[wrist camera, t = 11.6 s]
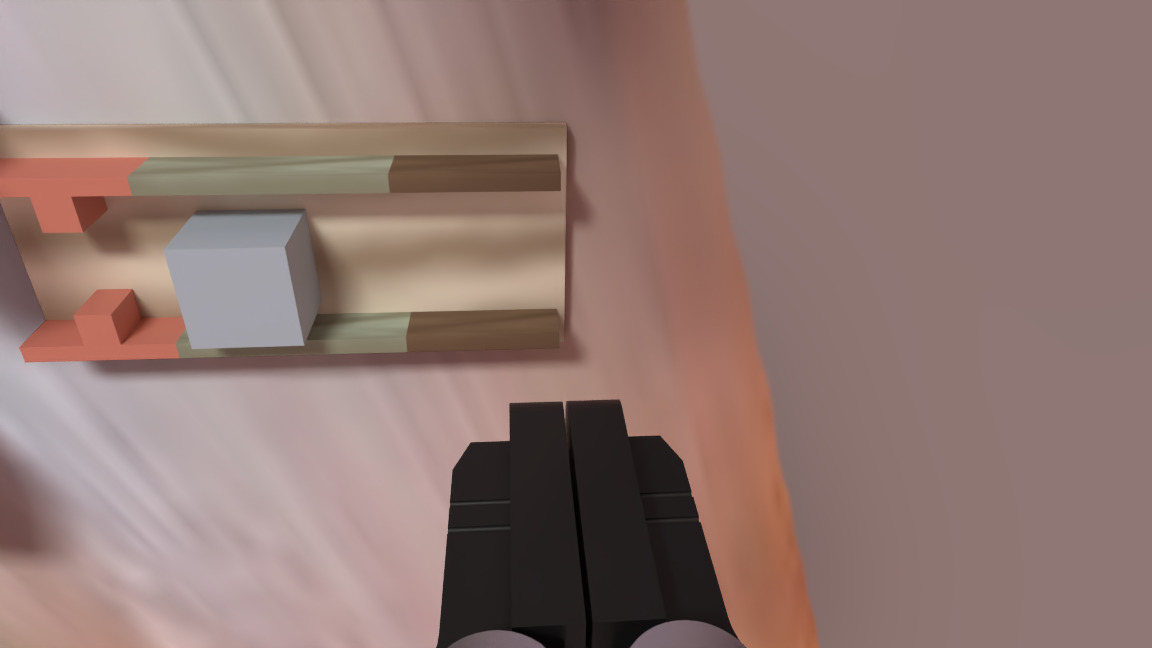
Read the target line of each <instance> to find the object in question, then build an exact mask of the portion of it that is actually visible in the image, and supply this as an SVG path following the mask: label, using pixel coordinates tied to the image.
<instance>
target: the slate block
mask: <svg viewBox="0 0 1152 648" xmlns="http://www.w3.org/2000/svg"><path fill="white" fill-rule="evenodd" d="M164 254H165V257H166V261H167V264H168V268H169V271H170V275H171V278H172V282H173V285H174V289H175V292H176V296H177V299H178V302H179V306H180V309H181V313H182V316H183V320H184V323H185V327H186V330H187V334H188V337H189V341H190V344H191V348H192V349H210V348H242V347H275V346H304V345H305V342H306V340H307V337H308V335H309V332H310V330H311V327H312V325H313V322H314V320H315V317H316V315H317V312H318V310H319V308H320V305H321V303H322V297H321V292H320V286H319V280H318V275H317V269H316V264H315V258H314V252H313V247H312V241H311V236H310V230H309V224H308V219H307V213H306V209H264V210H209V211H196V212H195V213H194V214H193V215H192V216H191V218H190V219H189V220H188V221H187V222H186V224H185V225H184V226H183V227H182V228H181V229H180V231H179V232H178V233H177V234H176V235H175V237H174V238H173V239H172V240H171V241H170V242H169V244H168V245H167V246H166V247H165V248H164Z"/></svg>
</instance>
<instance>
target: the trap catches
mask: <svg viewBox="0 0 1152 648" xmlns="http://www.w3.org/2000/svg"><path fill="white" fill-rule="evenodd" d="M148 158H149V157H118V158H0V197H30V199H31V202H32V205H33V207H34V210H35V213H36V215H37V218H38V221H39V224H40V226H41V229H42V232H43V233H81V232H84V231H85V230H86V229H87V228H88V227H90V226H91V225H92V224H93V223H94V222H95V221H96V220H97V219H98V218H99V217H100V216H102V215H103V214H104V213H105V212H106V211H107V210H108V209H107V206H106V203H105V199H104V196H132V193H131V190H130V186H129V183H128V180H127V177H128V176H129V175H130V174H131V173H132V172H133V171H135V170H136V169H137V168H138V167H139V166H140V165H141V164H143V163H144V162H145V161H146V160H147V159H148ZM73 317H74V319H75V320H45V322H44V323H43V324H42V325H41V326H40V327H39V328H38V329H37V330H36V331H35V332H34V333H33V334H32V335H31V336H30V337H29V338H28V339H27V340H26V341H25V342H24V343H23V344H22V345H21V346H20V347H19V348H20V351H21V353H22V355H23V358H24V360H25V362H55V361H93V360H131V359H168V358H180V357H179V354H178V350H177V347H176V342H177V341H178V339H179V338H180V336H181V335H182V333H183V332H184V330H185V329H186V327H185V323H184V320H183V317H165V318H141V314H140V311H139V308H138V305H137V302H136V298H135V295H134V292H133V289H100V290H96V291H95V292H94V293H93V295H92V296H91V297H90V298H89V299H88V300H87V301H86V302H85V303H84V304H83V305H82V306H81V308H80V309H79V310H78V311H77V312H76V313H75V314H74V315H73Z"/></svg>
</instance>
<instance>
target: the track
mask: <svg viewBox="0 0 1152 648" xmlns="http://www.w3.org/2000/svg"><path fill="white" fill-rule="evenodd" d="M118 157H149V158H148V159H147V160H146V161H145V162H144V163H143V164H141V165H140V166H139V167H138V168H137V169H136V170H135V171H133V172H132V173H131V174H130V175H129V176H128V177H127V180H128V183H129V186H130V190H131V193H132V196H104V199H105V203H106V206H107V209H108V210H107V211H106V212H105V213H104V214H103V215H102V216H100V217H99V218H98V219H97V220H96V221H95V222H94V223H93V224H92V225H91V226H90V227H88V228H87V229H86V230H85V231H84V232H81V233H43V232H42V229H41V226H40V224H39V221H38V218H37V215H36V213H35V210H34V207H33V205H32V202H31V199H30V197H0V203H1V206H2V209H3V211H4V214H5V216H6V219H7V221H8V224H9V227H10V229H11V232H12V234H13V237H14V239H15V242H16V245H17V247H18V250H19V252H20V255H21V258H22V260H23V263H24V265H25V268H26V270H27V273H28V276H29V278H30V281H31V283H32V286H33V288H34V291H35V294H36V296H37V299H38V301H39V304H40V307H41V309H42V312H43V314H44V317H45V319H46V320H75V319H74V317H73V315H74V314H75V313H76V312H77V311H78V310H79V309H80V308H81V306H82V305H83V304H84V303H85V302H86V301H87V300H88V299H89V298H90V297H91V296H92V295H93V293H94V292H95V291H96V290H100V289H133V292H134V295H135V298H136V302H137V305H138V308H139V311H140V314H141V318H165V317H183V316H182V313H181V309H180V306H179V302H178V299H177V296H176V292H175V289H174V285H173V282H172V278H171V275H170V271H169V268H168V264H167V261H166V257H165V254H164V248H165V247H166V246H167V245H168V244H169V242H170V241H171V240H172V239H173V238H174V237H175V235H176V234H177V233H178V232H179V231H180V229H181V228H182V227H183V226H184V225H185V224H186V222H187V221H188V220H189V219H190V218H191V216H192V215H193V214H194V213H195V212H196V211H209V210H264V209H306V213H307V219H308V224H309V230H310V236H311V241H312V247H313V252H314V258H315V264H316V269H317V275H318V280H319V286H320V292H321V297H322V303H321V305H320V308H319V310H318V312H317V315H316V317H315V320H314V322H313V325H312V327H311V330H310V332H309V335H308V337H307V340H306V342H305V345H304V346H275V347H242V348H210V349H192V348H191V344H190V341H189V337H188V334H187V330H186V329H185V330H184V332H183V333H182V335H181V336H180V338H179V339H178V341H177V342H176V347H177V350H178V354H179V357H180V358H206V357H243V356H281V355H319V354H356V353H394V352H432V351H469V350H507V349H544V348H559V342H564V309H565V235H566V161H567V126H566V122H531V123H302V124H72V125H0V158H118Z"/></svg>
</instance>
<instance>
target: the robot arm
mask: <svg viewBox="0 0 1152 648" xmlns="http://www.w3.org/2000/svg"><path fill="white" fill-rule="evenodd" d="M436 648H746V647H745V646H744V645H743V643H742V642H740V640H739V639H738V637H737V636H736V634H735V632H734V630H733V629H732V626H731V624H730V621H729V618H728V615H727V612H726V608H725V605H724V601H723V598H722V595H721V591H720V588H719V584H718V581H717V577H716V574H715V570H714V567H713V564H712V560H711V557H710V553H709V550H708V546H707V543H706V539H705V536H704V533H703V529H702V526H701V522H699V515H698V512H697V509H696V505H695V502H694V498H693V497H692V495H691V488H690V484H689V481H688V478H687V474H686V471H685V467H684V464H683V461H682V460H681V458H680V457H679V456H678V455H677V454H676V453H675V452H674V451H673V450H672V448H671V447H670V446H669V445H668V444H667V443H666V442H665V441H664V440H663V438H662V437H661V436H633V437H628V434H627V429H626V424H625V419H624V415H623V410H622V405H621V402H620V400H587V401H567V402H566V414H565V418H564V409H563V402H531V403H510V441H499V442H471V443H470V444H469V446H468V447H467V449H466V451H465V452H464V454H463V455H462V457H461V458H460V460H459V461H458V463H457V464H456V466H455V467H454V469H453V472H452V484H451V496H450V509H449V521H448V534H447V545H446V557H445V569H444V581H443V593H442V606H441V618H440V630H439V638H438V644H437V647H436Z"/></svg>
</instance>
